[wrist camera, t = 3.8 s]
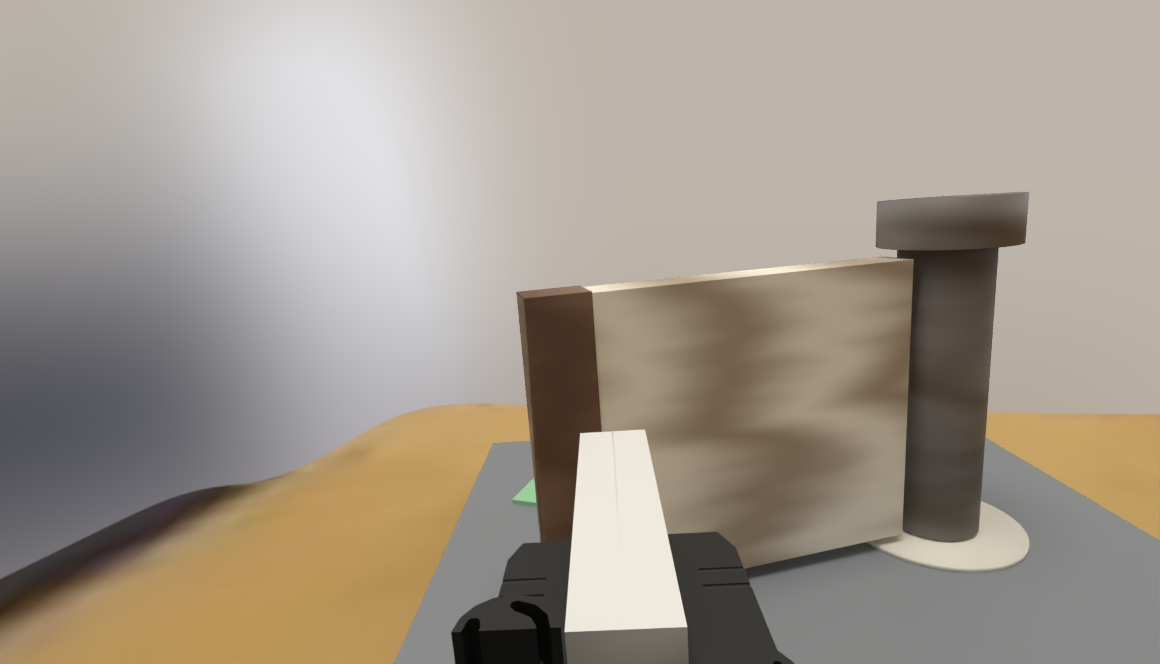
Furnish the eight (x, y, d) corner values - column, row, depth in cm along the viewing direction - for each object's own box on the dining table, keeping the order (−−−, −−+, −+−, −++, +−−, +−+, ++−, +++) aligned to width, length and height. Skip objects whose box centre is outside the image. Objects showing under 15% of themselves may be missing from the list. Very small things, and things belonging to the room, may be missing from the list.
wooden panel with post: (934, 484, 25) (949, 195, 23) (1033, 537, 21) (1064, 189, 19) (538, 564, 22) (505, 230, 19) (561, 647, 17) (524, 233, 15)
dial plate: (949, 442, 33) (951, 413, 33) (1506, 812, 13) (1526, 747, 13) (495, 467, 35) (492, 439, 34) (345, 843, 14) (335, 784, 14)
